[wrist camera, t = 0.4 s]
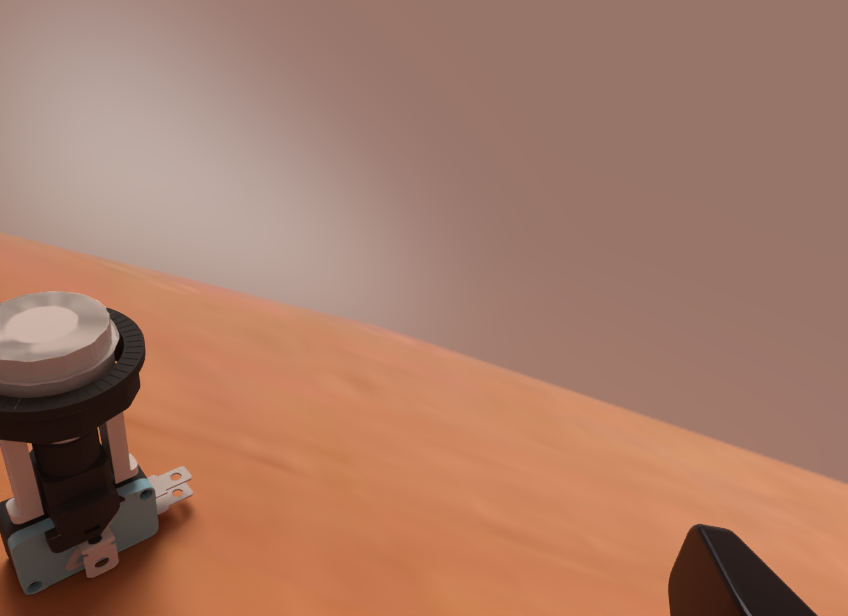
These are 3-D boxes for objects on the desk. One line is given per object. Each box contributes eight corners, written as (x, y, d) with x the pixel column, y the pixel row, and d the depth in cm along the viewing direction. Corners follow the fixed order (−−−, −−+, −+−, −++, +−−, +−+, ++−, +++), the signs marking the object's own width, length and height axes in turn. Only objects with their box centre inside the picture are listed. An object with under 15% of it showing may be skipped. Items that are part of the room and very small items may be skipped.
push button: (162, 458, 29) (141, 252, 24) (223, 544, 26) (215, 328, 21) (-16, 533, 25) (-88, 304, 20) (32, 644, 22) (-40, 409, 17)
